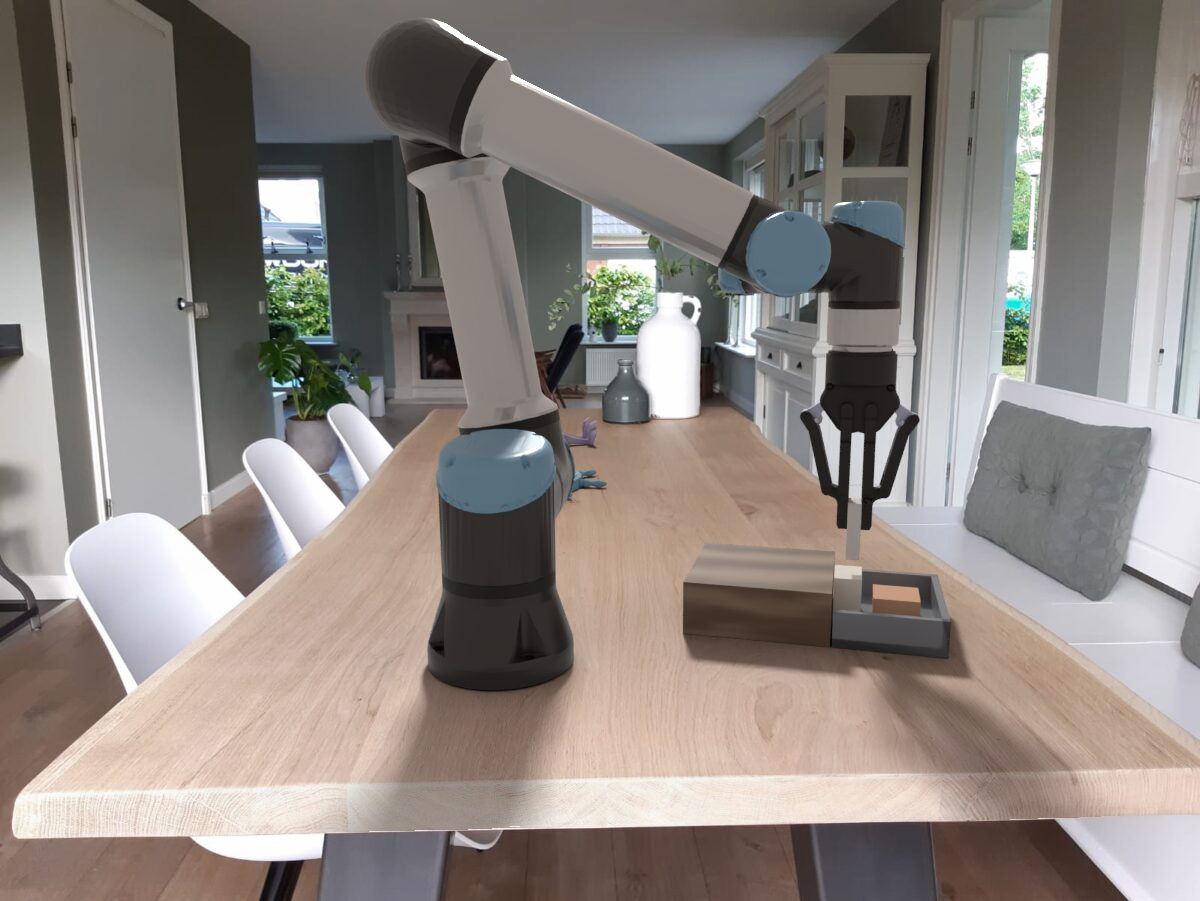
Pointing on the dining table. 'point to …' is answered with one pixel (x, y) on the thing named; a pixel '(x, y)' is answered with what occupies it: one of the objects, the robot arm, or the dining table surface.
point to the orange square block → (896, 600)
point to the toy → (584, 433)
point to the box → (896, 619)
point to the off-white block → (847, 588)
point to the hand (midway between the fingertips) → (852, 556)
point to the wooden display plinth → (760, 594)
